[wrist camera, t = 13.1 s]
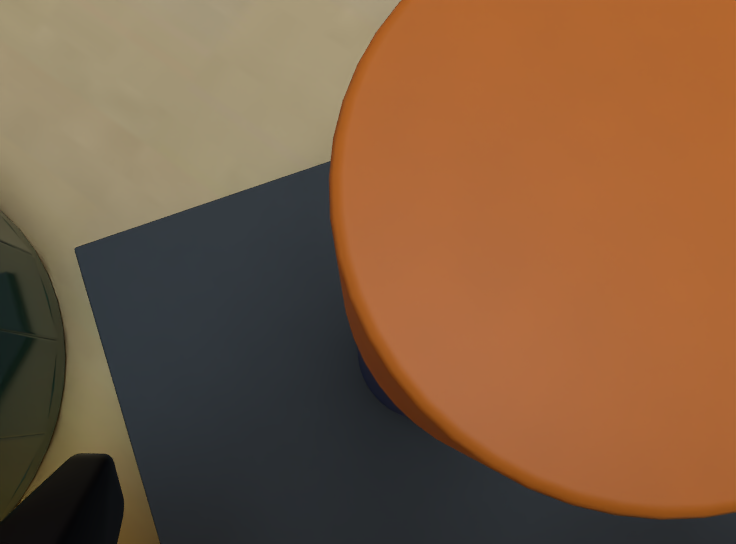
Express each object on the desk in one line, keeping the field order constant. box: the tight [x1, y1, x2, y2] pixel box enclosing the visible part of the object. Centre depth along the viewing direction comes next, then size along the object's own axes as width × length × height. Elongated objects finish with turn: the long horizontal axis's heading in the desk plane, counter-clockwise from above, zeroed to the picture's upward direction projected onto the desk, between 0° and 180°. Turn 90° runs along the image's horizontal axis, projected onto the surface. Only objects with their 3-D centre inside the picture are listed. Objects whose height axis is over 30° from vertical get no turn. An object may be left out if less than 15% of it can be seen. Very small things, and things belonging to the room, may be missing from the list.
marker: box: [329, 0, 736, 520], centre depth 10 cm, size 3×3×12 cm
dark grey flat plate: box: [75, 161, 736, 544], centre depth 16 cm, size 12×16×1 cm
